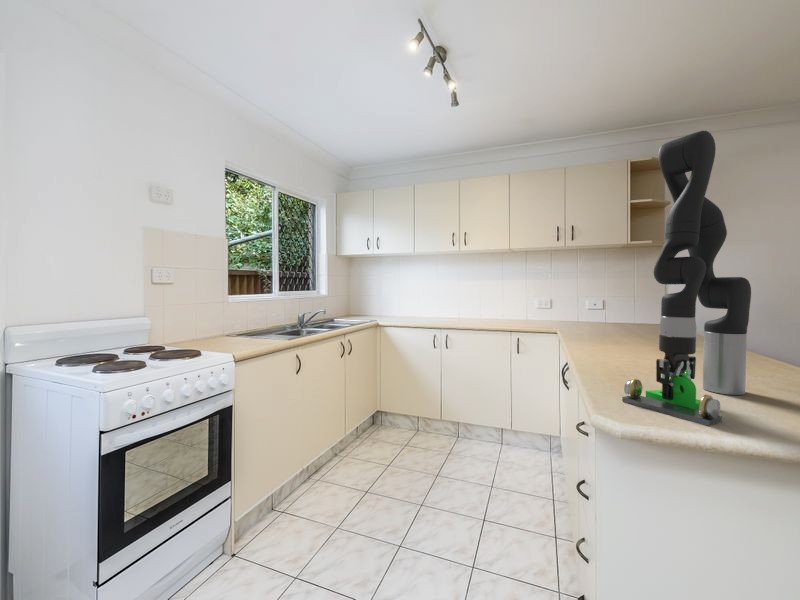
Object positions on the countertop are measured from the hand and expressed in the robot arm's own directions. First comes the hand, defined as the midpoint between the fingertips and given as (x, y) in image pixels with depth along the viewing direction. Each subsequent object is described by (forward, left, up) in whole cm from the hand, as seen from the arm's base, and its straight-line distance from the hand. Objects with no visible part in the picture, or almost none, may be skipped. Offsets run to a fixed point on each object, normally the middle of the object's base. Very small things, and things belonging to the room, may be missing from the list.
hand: (675, 397), depth 93 cm
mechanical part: (0, 0, -2) cm, 2 cm away
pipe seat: (+7, +2, -2) cm, 8 cm away
